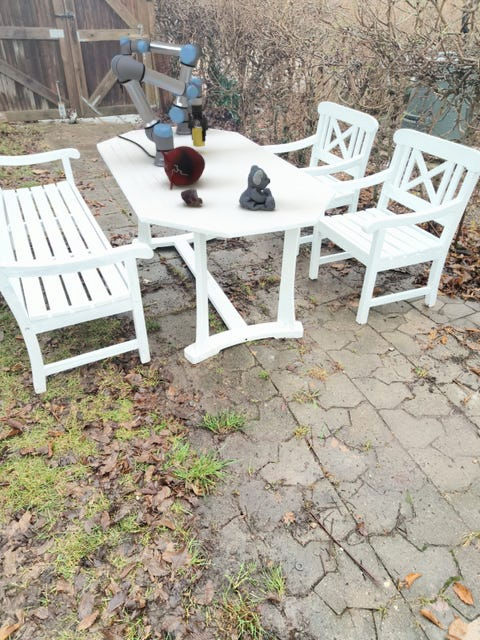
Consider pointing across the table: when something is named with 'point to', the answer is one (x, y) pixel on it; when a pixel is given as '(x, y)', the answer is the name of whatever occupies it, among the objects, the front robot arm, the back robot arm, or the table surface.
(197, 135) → the tin
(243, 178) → the table surface
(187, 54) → the back robot arm
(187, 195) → the rock
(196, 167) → the dark red rounded lump
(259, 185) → the koala plush
